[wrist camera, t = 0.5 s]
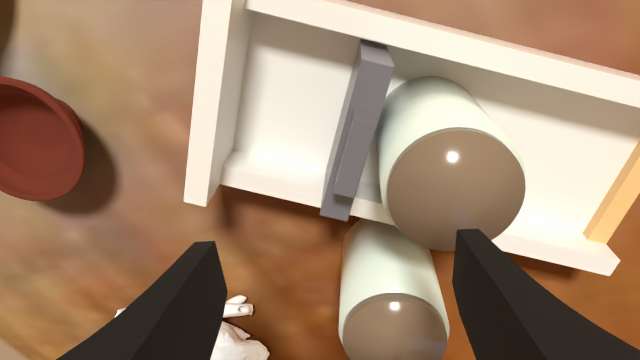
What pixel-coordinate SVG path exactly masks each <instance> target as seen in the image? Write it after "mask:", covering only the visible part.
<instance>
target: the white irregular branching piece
mask: <svg viewBox="0 0 640 360" xmlns="http://www.w3.org/2000/svg"><path fill="white" fill-rule="evenodd" d="M246 299H247V298H246V297H244V296H241V295H239V296H236V297H233V298H232V299H230V300H228V301H226V304H225V309H224V314H223V318H226V317H234V316H244V315H247V314H248V315H252V312H253V305H252V304H241V303H243V302H245V300H246ZM125 309H126V308H123V309H120V310H118V311H117V314H116V316H118V315H119V314H120V313H121V312H122V311H124V310H125ZM116 316H115V317H116ZM248 337H250V335H249V334H247V333H245V332H244V331H243V330H242V329H240V328H238V327H236V326H233V325H231V324H229V323H226V322H224V321H222V324H221V327H220V330H219V334H218V337H217V340H216V343H215V346H214V349H213V352H212V355H211V358H210V360H267V357H268V356H269V354H270V353H269V352H268V351H267V348H266V347H265V346H264V345H262V344H261V342H259V341H256V340H246V338H248Z"/></svg>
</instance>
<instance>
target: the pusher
mask: <svg viewBox="0 0 640 360" xmlns="http://www.w3.org/2000/svg"><path fill="white" fill-rule="evenodd" d="M394 68H395V67H394V64H393V62H392V59H391V56H390V54H389V51H388V48H387V46H386V45H383V44H379V43H375V42H371V41H367V40H363V39H360V42H359V46H358V49H357V53H356V57H355V61H354V65H353V68H352V72H351V76H350V80H349V84H348V87H347V91H346V95H345V99H344V103H343V106H342V110H341V114H340V118H339V122H338V126H337V129H336V133H335V137H334V141H333V145H332V148H331V152H330V156H329V160H328V164H327V167H326V173H325V180H324V187H323V194H322V201H321V208H320V215H322V216H326V217H330V218H335V219H339V220H343V221H348V218H349V214H350V211H351V208H352V205H353V201H354V198H355V195H356V192H357V188H358V185H359V182H360V179H361V175H362V172H363V169H364V166H365V162H366V159H367V156H368V153H369V149H370V146H371V143H372V140H373V136H374V133H375V130H376V126H377V123H378V120H379V117H380V113H381V110H382V107H383V104H384V100H385V97H386V94H387V91H388V87H389V84H390V81H391V78H392V74H393V71H394Z"/></svg>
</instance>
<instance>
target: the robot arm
mask: <svg viewBox="0 0 640 360" xmlns="http://www.w3.org/2000/svg"><path fill="white" fill-rule="evenodd" d="M452 284H453V288H454V293H455V297H456V301H457V305H458V309H459V314H460V316H461V319H462V322H463V325H464V327H465V330H466V333H467V336H468V338H469V341H470V344H471V346H472V349H473V352H474V354H475V357H476V360H640V350H638V349H636V348H635V347H633V346H631V345H629V344H627V343H626V342H624V341H622V340H621V339H619V338H617V337H616V336H614V335H612V334H610V333H609V332H607V331H605V330H604V329H602V328H600V327H599V326H597V325H596V324H594V323H592V322H591V321H589V320H588V319H586V318H585V317H584V316H582V315H581V314H579V313H578V312H576V311H575V310H573V309H572V308H570V307H569V306H567V305H566V304H565V303H563V302H562V301H560V300H559V299H558V298H556V297H555V296H554V295H553V294H551V293H550V292H549V291H548V290H546V289H545V288H544V287H542V286H541V285H540V284H539V283H537V282H536V281H535V280H534V279H533V278H531V277H530V276H529V275H528V274H527V273H526V272H525V271H523V270H522V269H521V268H520V267H519V266H518V265H517V264H515V263H514V262H513V261H512V260H511V259H510V258H509V257H508V256H507V255H506V254H505V253H504V252H503V251H501V250H500V249H499V248H498V247H497V246H496V245H495V244H494V243H493V242H492V241H491V240H490V239H489V238H488V237H487V236H486V235H485V234H484V233H483V232H482V231H480V230H479V229H458V230H457V234H456V245H455V257H454V268H453V279H452ZM227 292H228V291H227V287H226V283H225V279H224V275H223V272H222V268H221V264H220V260H219V256H218V252H217V248H216V244H215V241H207V242H195V243H194V244H193V245H192V246H190V247H189V248H188V249H187V250H186V251H185V252H184V253H183V254H182V255H181V256H180V258H179V259H178V260H177V261H176V262H175V263H174V264H173V265H172V266H171V267H170V268H169V269H168V270H167V271H166V272H165V273H164V274H163V275H162V276H160V277H159V278H158V279H157V280H156V281H155V282H154V283H153V284H152V285H151V286H150V287H149V288H148V289H147V290H146V291H145V292H144V293H143V294H141V295H140V296H139V297H138V298H137V299H136V300H135V301H134V302H132V303H131V304H130V305H129V306H128V307H127V308H126V309H125V310H124V311H122V312H121V313H120V314H119V315H118V316H116V317H115V318H114V319H113V320H111V321H110V322H109V323H108V324H106V325H105V326H104V327H102V328H101V329H100V330H98V331H97V332H96V333H94V334H93V335H92V336H90V337H89V338H88V339H86V340H85V341H83V342H82V343H80V344H79V345H77V346H76V347H74V348H73V349H71V350H70V351H68V352H67V353H65V354H64V355H62V356H61V357H59V358H58V359H56V360H210V358H211V355H212V352H213V349H214V346H215V343H216V340H217V337H218V334H219V330H220V327H221V324H222V320H223V314H224V309H225V304H226V298H227Z"/></svg>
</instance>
